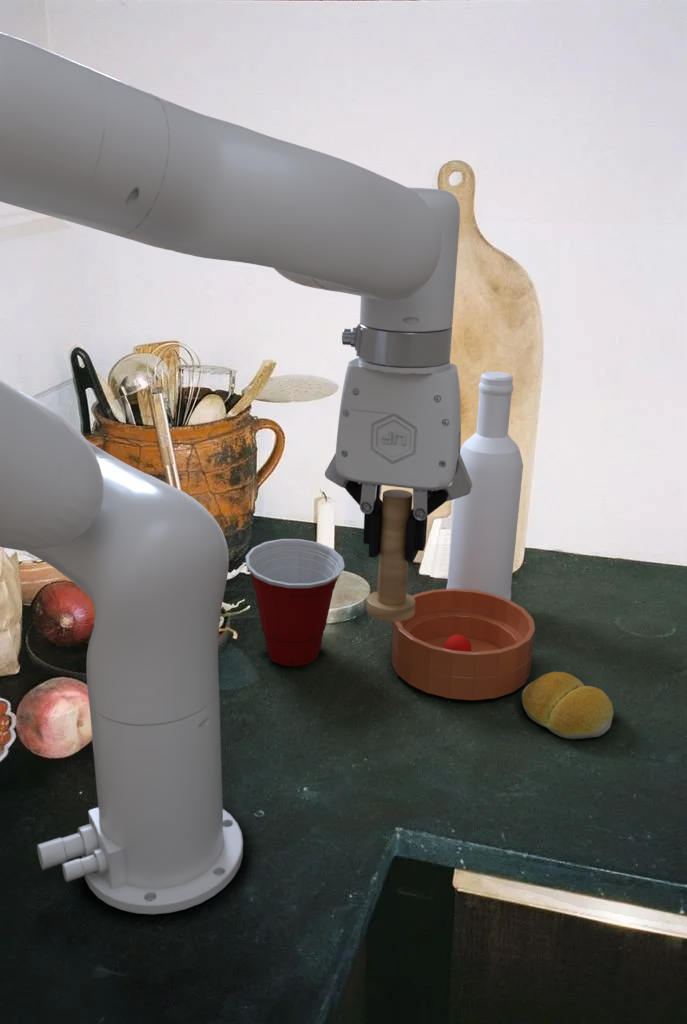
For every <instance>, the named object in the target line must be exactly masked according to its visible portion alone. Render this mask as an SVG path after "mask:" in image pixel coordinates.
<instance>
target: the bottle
mask: <svg viewBox="0 0 687 1024" xmlns="http://www.w3.org/2000/svg"><path fill="white" fill-rule="evenodd" d="M513 382H514V377H513V375H511V374H510V373H508V372H503V371H485V372H483V373H482V374H481V375H480V380H479V383H478V390H479V391H478V392H479V393H478V396H479V397H478V407H477V417H476V418H477V420H476V431H475V433H473V434H472V435H470V437H468V438H467V439H466V440H465V441H464V442H463V443H462V444H461V449H460V455H461V457H462V460H463V462H464V465H465V467H466V469H467V472H468V474H469V477H470V479H471V482H472V485H473V486H472V489H471V492H470V493H469V494H468V495H465V496H462V497H459V498H456V499H453V500H452V501H453V502H452V513H451V514H452V515H451V516H452V517H451V528H450V544H449V558H448V569H447V583H446V587H445V589H467V590H477V591H481V592H486V593H491V594H495V595H497V596H500V597H503V598H505V599H508V600H511V601H512V583H513V574H514V573H513V571H514V562H515V552H516V544H517V543H516V541H517V534H518V533H517V531H518V524H519V523H518V522H519V511H520V501H521V493H522V492H521V491H522V482H523V481H522V480H523V471H524V462H523V458H522V455H521V451H520V447H519V445H518V444H517V443H516V441H514V440H513V438H512V437H511V436H510V435H509V425H510V415H511V406H512V405H511V404H512V395H513V392H514V385H513Z"/></svg>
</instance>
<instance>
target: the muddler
mask: <svg viewBox="0 0 687 1024" xmlns="http://www.w3.org/2000/svg"><path fill="white" fill-rule="evenodd" d="M381 500H382V516H381V534H380V551H379V554H378V556H379V557H378V570H377V586H376V587H377V589H376V591H373V592H371V593H369V594H368V595H367V597H366V604H365V606H366V607H365V610H366V614H367V615H368V616H370V617H371V618H373V619H376V620H379V621H383V622H392V623H393V622H398V621H404V620H408V619H410V618H412V617H413V616H414V614H415V602H416V601H415V599H414V598H413V597H412V596H413V595H411V594H409V593H407V585H408V570H409V562H407V560H405V544H406V526H407V520H408V518H409V516H411V511H412V509H413V492H411V491H409V490H404V489H397V488H395V489H387V490H384V491H383V492H382V499H381Z"/></svg>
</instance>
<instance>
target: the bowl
mask: <svg viewBox="0 0 687 1024" xmlns="http://www.w3.org/2000/svg"><path fill="white" fill-rule="evenodd" d="M411 596H412V597H413V598H414V599H415V601H416V602H415V614H414V616H413V617H412V618H410V619H408V620H404V621H398V622H392V641H391V664H392V667H393V669H394V671H395V673H396V674H397V675H398V676H399V677H400V678H401V679H402V680H403V681H405V682H406V683H407V684H408V685H409V686H412V687H414V688H416V689H418V690H421V691H422V692H425V693H426V694H430V695H434V696H438V697H442V698H446V699H449V700H462V701H480V700H490V699H498V698H500V697H503V696H506V695H509V694H513V693H514V692H516V691H518V690H519V689H520V688H521V687H523V686H524V685H526V683H527V681H528V679H529V677H530V674H531V673H532V663H533V654H534V644H535V634H536V626H535V620H534V618H533V617H532V616H531V614H530V613H529V612H528V611H527V610H526V608H524V607H522V606H521V605H519V604H517V603H516V602H514V601H513V600H512V599H511V600H508V599H505V598H503V597H500V596H497V595H495V594H491V593H486V592H481V591H477V590H467V589H446V588H441V589H440V588H439V589H430V590H426V591H423V592H418V593H415V594H413V595H411ZM453 635H462V636H464V637H466V638H467V639H468V640H469V642H470V644H471V652H468V651H455V650H449V649H445V648H444V645H445V642H446V640H447V639H448V638H449V637H450V636H453Z"/></svg>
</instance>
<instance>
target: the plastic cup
mask: <svg viewBox="0 0 687 1024" xmlns="http://www.w3.org/2000/svg"><path fill="white" fill-rule="evenodd" d="M245 566H246V569H247V570H248V571H249V573H250V576H251V581H252V583H253V590H254V591H255V596H256V602H257V607H258V613H259V619H260V624H261V631H262V633H263V636H264V641H265V647H266V652H267V654H268V658H269V659H270V660H271V661H272V662H274V663H276V664H279V665H281V666H287V667H299V666H300V667H302V666H304V665H308V664H310V663H312V662H313V661H315V660H316V659H317V658H318V656H319V653H320V650H321V647H322V642H323V636H324V631H325V630H326V628H327V627H326V626H327V622H328V616H329V612H330V607H331V602H332V599H333V593H334V590H335V588H336V584H337V582H338V579H339V578H340V576H341V574H342V573H343V571H344V569H345V567H346V565H345V562H344V558H343V556H342V555H341V554H340V553H338V551H336V550H335V549H334V548H332V547H331V546H328V545H325V544H322V543H321V542H317V541H314V540H313V541H312V540H308V539H307V540H306V539H302V538H280V539H274V540H269V541H268V540H267V541H264V542H262V543H260V544H258V545H256V546H254V547H252V548H251V549H250V550H249V551H248V552H247V554H246V555H245Z"/></svg>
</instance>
